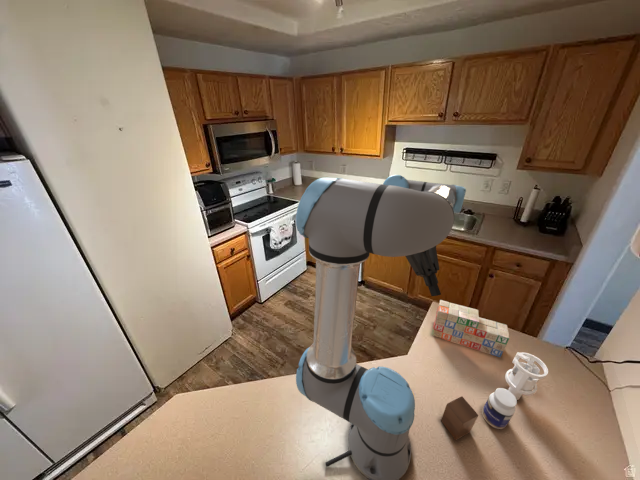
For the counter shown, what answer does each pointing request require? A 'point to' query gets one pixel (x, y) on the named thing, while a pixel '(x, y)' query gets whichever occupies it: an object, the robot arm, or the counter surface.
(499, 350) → the stack of blocks
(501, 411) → the pill bottle
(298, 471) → the counter surface
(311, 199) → the robot arm
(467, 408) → the walnut block
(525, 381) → the strainer
